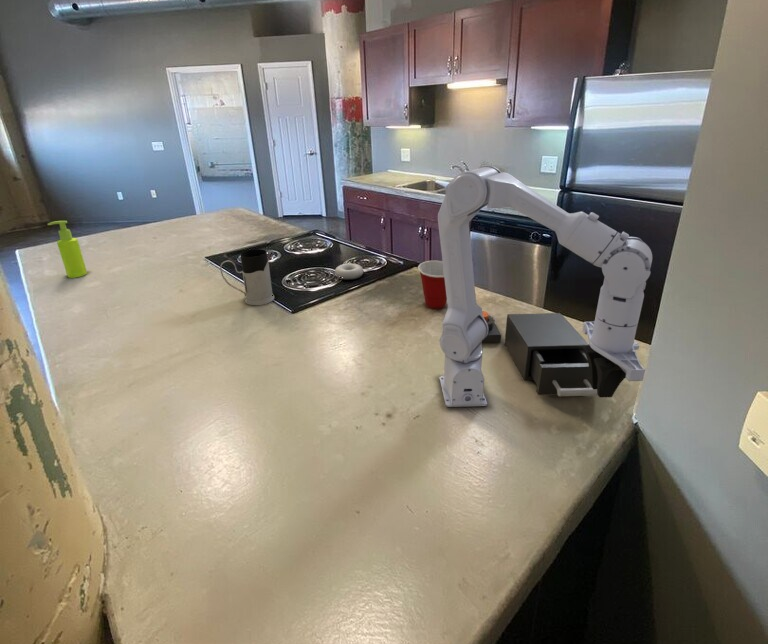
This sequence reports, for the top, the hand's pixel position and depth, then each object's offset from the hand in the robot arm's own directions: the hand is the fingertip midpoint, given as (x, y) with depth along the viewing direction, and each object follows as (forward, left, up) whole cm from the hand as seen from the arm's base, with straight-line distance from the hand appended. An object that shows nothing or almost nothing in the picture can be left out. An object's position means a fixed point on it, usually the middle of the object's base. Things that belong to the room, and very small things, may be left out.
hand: (601, 392), depth 68 cm
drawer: (+15, 0, -9) cm, 17 cm away
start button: (+37, +11, -6) cm, 39 cm away
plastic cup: (+54, +20, -10) cm, 58 cm away
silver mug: (+60, +76, -10) cm, 97 cm away
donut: (+79, +47, -10) cm, 92 cm away
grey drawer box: (+24, 0, -9) cm, 26 cm away
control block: (+37, +11, -9) cm, 40 cm away
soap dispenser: (+86, +147, -10) cm, 171 cm away
